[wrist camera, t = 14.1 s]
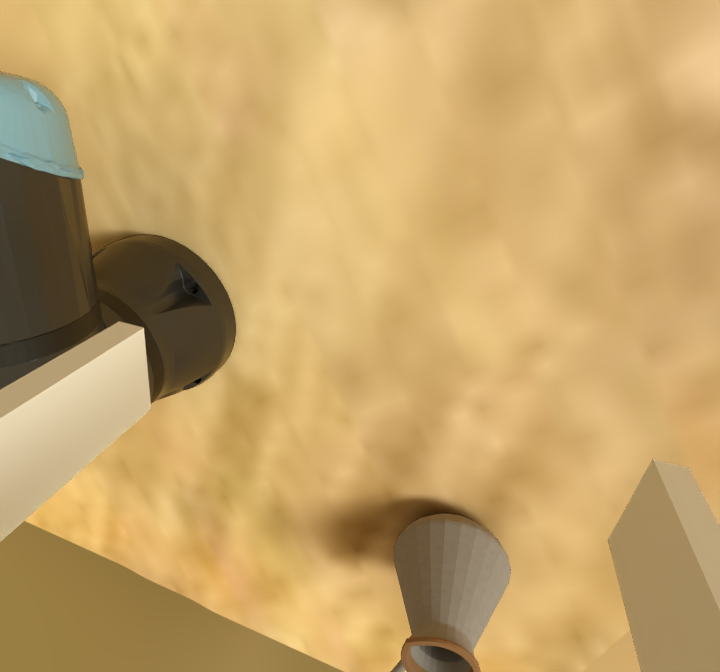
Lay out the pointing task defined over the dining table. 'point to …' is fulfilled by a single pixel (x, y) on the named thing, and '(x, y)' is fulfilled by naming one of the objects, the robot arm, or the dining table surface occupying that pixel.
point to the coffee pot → (447, 590)
